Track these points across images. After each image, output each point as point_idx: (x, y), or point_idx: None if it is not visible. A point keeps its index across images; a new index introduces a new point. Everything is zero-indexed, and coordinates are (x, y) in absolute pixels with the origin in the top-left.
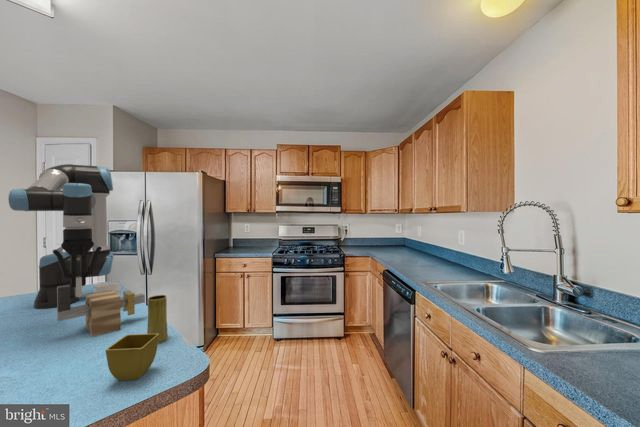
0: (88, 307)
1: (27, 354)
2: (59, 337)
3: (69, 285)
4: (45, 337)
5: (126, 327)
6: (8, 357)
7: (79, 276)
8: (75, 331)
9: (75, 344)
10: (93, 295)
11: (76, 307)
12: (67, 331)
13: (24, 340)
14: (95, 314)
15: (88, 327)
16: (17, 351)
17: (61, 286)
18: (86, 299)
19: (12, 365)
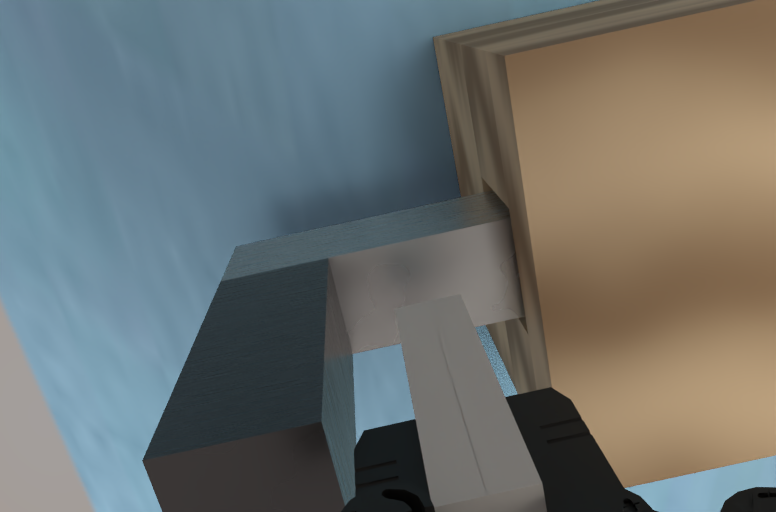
0: (509, 314)
1: (147, 393)
2: (270, 184)
3: (340, 495)
4: (165, 114)
5: None
6: (50, 378)
7: (523, 491)
8: (364, 109)
9: (391, 392)
10: (598, 196)
11: (401, 293)
12: (303, 64)
13: (22, 84)
14: None
15: (461, 178)
16: (64, 305)
17: (224, 508)
18: (501, 122)
19: (121, 505)
